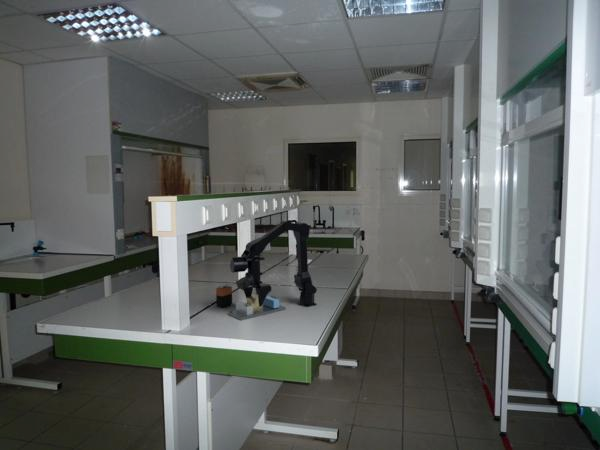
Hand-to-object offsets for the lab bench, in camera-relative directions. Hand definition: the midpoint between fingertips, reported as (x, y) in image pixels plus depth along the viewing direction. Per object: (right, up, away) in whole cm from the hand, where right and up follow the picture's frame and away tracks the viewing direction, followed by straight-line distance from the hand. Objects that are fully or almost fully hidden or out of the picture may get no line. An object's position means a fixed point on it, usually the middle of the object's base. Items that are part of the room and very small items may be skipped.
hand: (254, 304), depth 188 cm
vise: (0, -4, +1) cm, 4 cm away
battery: (-16, -3, +12) cm, 20 cm away
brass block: (0, -3, 0) cm, 3 cm away
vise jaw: (+7, -2, +6) cm, 10 cm away
